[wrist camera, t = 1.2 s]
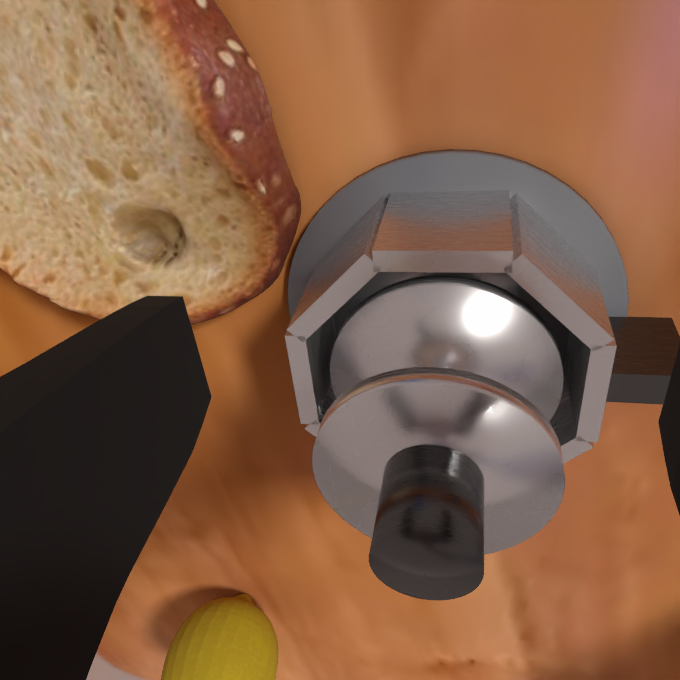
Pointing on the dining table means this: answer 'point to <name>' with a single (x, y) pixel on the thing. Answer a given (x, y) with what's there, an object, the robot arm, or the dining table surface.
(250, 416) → the dining table surface
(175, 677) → the lemon
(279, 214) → the slice of bread
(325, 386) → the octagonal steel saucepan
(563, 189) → the round metal disc
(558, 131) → the dining table surface
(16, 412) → the robot arm
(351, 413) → the silver rounded piece
